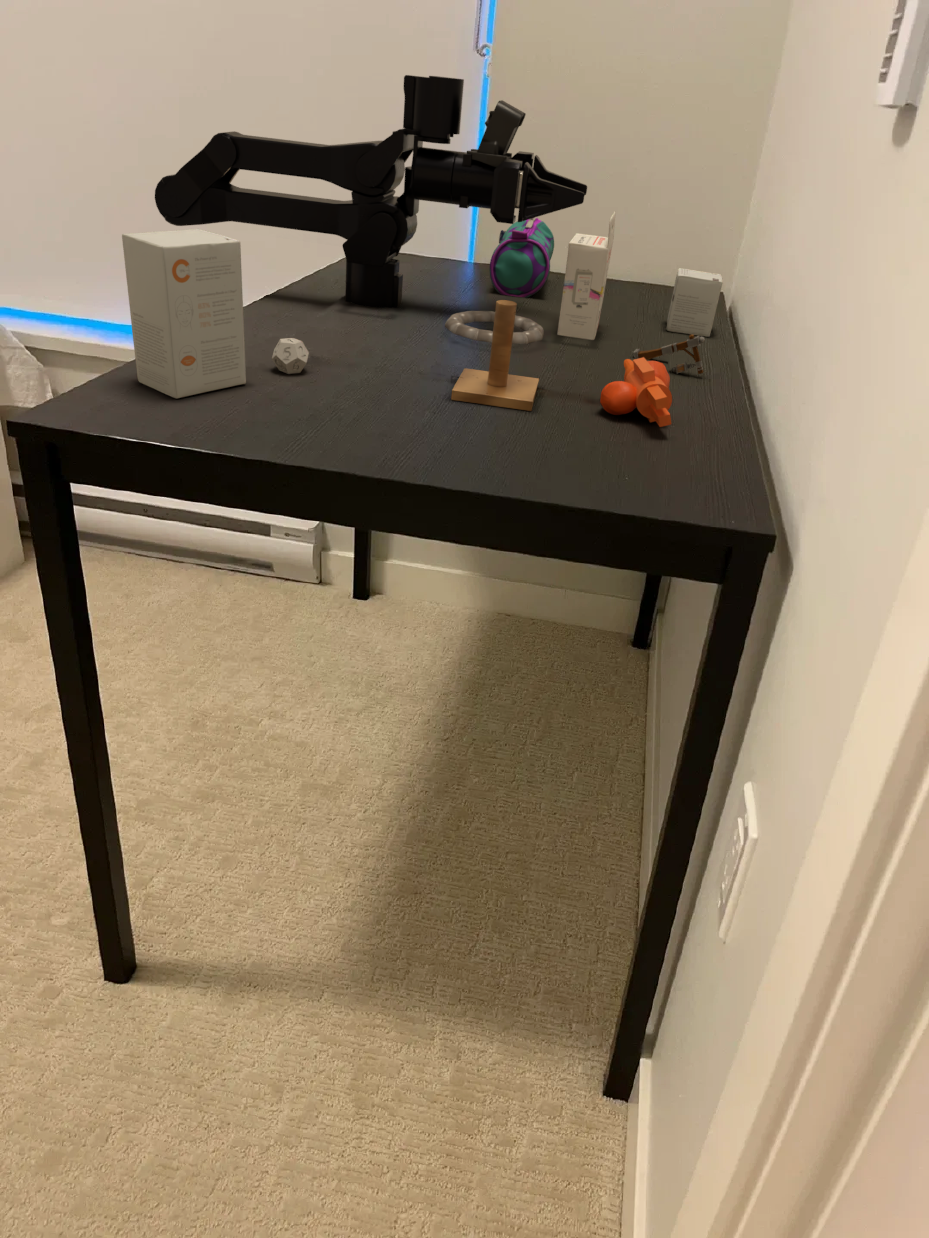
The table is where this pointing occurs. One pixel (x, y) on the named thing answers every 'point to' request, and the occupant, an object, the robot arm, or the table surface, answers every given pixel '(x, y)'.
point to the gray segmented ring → (459, 319)
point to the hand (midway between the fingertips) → (585, 194)
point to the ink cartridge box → (585, 284)
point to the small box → (186, 310)
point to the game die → (290, 355)
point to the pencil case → (522, 258)
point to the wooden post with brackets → (675, 348)
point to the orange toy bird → (640, 391)
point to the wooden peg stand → (498, 370)
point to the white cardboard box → (694, 302)
